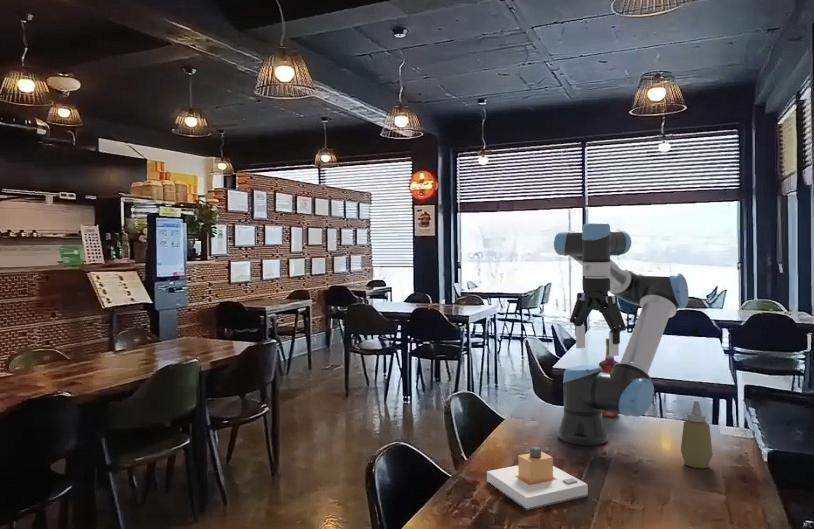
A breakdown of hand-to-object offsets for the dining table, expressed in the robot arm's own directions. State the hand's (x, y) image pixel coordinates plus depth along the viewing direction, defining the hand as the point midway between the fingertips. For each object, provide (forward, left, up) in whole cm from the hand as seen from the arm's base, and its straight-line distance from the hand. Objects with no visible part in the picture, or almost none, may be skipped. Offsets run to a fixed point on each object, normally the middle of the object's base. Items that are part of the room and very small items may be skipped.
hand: (596, 351), depth 168 cm
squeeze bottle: (+14, +23, -32) cm, 42 cm away
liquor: (-33, +35, -32) cm, 58 cm away
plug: (+8, -27, -31) cm, 42 cm away
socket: (+8, -27, -32) cm, 42 cm away
